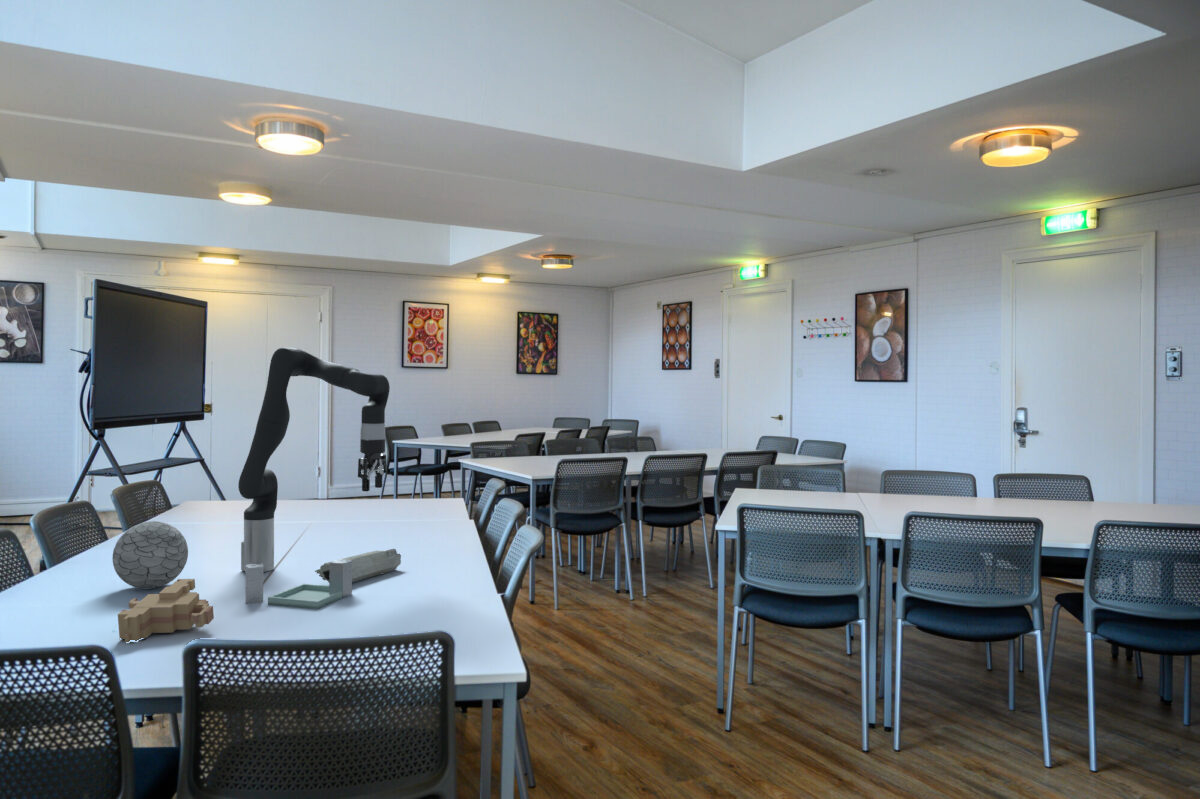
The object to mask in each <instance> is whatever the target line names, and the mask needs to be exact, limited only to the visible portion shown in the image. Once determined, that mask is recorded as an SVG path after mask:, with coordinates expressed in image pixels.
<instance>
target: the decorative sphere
mask: <svg viewBox="0 0 1200 799" xmlns="http://www.w3.org/2000/svg"><path fill="white" fill-rule="evenodd" d="M188 557H189V547H188V544H187V540H186V538H185V536H184V535H183V534H182V532H181V531H180V530H179V529H178V528H176V526H175V527H174V526H173V525H171V524H169V523H166V522H163V521H156V520H153V521H151V520H150V521H145V522H141V523H138V524H136V525H133V526H131V527H130V528H128V529H127V530H126V531H124V533H123V534H122V535H121V536H120V537H119V538H118V540H117V541H116V543H115V546H114V548H113V551H112V565H113V569H114V571H115V573H116V575H117V576H118V577H119V578H120V580H122V581H123V582H124V583H126V584H127V585H128V586H130V587H134V588H136V589H141V588H153V589H157V588H156V587H158V588H161V587H163V586H166V585H168V584H170V583H171V582H172V581H174V580H175V579H176V578H178V576H179V575H181V573H182V572H183V571H184V568H185V567H186V564H187V563H188Z"/></svg>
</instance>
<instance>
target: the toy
mask: <svg viewBox="0 0 1200 799" xmlns="http://www.w3.org/2000/svg"><path fill="white" fill-rule="evenodd" d="M195 589H196V580H195V578H178V579H177V580H175V581H174V582H173V583H172V584H171V585H170V586H165V587H164V588H163V589H162V590H161V591H160V592H158V593H148V594H147V595H146V596H144V597H143V598H142V599H141V600H138V598H137V597H133V598H132V599H130V601H128V608H129V609H122V610H120V612H118V614H117V623H118V634H119V639H120V638H121V639H125V640H124V643H125V642H129V641H130V640H135V641H137V640H139V639H141V638H146V637H147V636H148V637H149V636H151V634H156V633H157V634H162V633H163V634H164V633H168V634H169V633H170V634H171V633H174V632H175V631H176V630H191V629H192V628H193V626H194V627H195V628H203V627H205V625H209V624H210V623H211V622H212V621H213V620H214V618H215V616H214V606H213V605H210V603H209V600H207V599H200V593H198V592H195V591H194V592H193V590H195ZM191 591H192V592H191ZM148 637H147V638H148ZM147 638H146V639H147Z"/></svg>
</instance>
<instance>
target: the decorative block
mask: <svg viewBox="0 0 1200 799" xmlns="http://www.w3.org/2000/svg"><path fill="white" fill-rule="evenodd" d="M401 558H402V555H401V554H400V553H398V551H397V549H396V548H390V549H387V550H374V551H368V552H365V553H364V552H363V553H361V554H356V555H352V556H347V557H345V558H341V559H342V560H352V582H354V583H356V581H357V582H360V581H363V580H362V579H364V580H367V579H370V578H373V577H376V576H375V575H377V576H379V574H380V575H383V574H382V573H384V574H387V573H389V571H390V572H393V571H396V569H397V568H398V567H399V566H400V565H401V563H402V560H401ZM329 562H330V561H328V562H324V563H323V564H321V565H320V568H319V569H316V570H314V572H315V573H316V574H319V575H318V576H319V577H320V578H322V580H323V581H327V582H328V583H329ZM392 570H393V571H392ZM386 572H387V573H386ZM372 576H373V577H372ZM369 577H370V578H369ZM366 578H367V579H366ZM359 580H360V581H359Z"/></svg>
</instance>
